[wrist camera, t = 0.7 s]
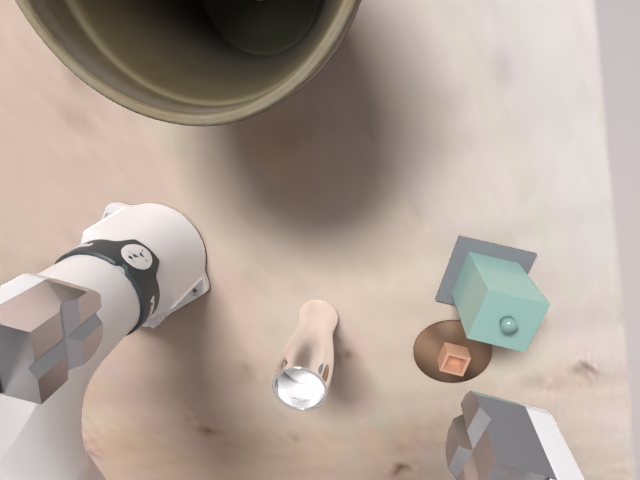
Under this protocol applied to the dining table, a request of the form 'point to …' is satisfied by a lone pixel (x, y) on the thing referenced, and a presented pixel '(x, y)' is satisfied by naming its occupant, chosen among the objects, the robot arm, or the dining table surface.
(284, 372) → the shiny silver metal cup
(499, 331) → the teal knobbed box
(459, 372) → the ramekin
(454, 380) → the disc
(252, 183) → the dining table surface
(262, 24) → the plant pot
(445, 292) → the mat
